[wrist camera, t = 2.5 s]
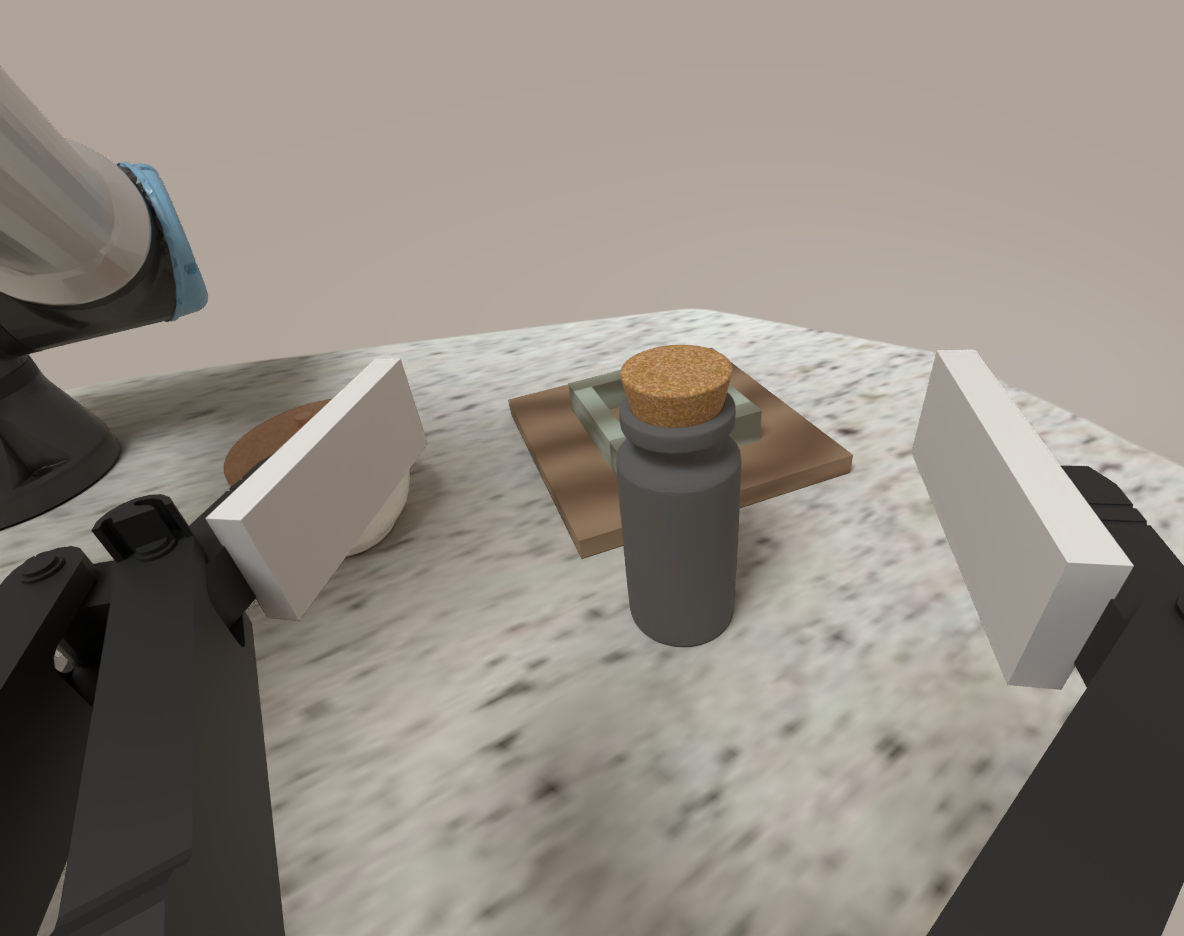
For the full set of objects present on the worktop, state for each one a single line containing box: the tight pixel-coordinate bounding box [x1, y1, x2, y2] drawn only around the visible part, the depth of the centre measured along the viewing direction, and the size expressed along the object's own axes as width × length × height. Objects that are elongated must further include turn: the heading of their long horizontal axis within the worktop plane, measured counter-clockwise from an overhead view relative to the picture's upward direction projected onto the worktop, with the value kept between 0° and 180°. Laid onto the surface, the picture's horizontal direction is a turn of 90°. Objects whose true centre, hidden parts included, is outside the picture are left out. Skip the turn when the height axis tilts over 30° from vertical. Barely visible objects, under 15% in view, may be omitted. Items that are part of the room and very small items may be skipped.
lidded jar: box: [224, 399, 410, 557], centre depth 40 cm, size 11×11×9 cm
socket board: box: [508, 348, 853, 559], centre depth 47 cm, size 20×20×4 cm
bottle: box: [616, 345, 741, 646], centre depth 30 cm, size 6×6×15 cm
